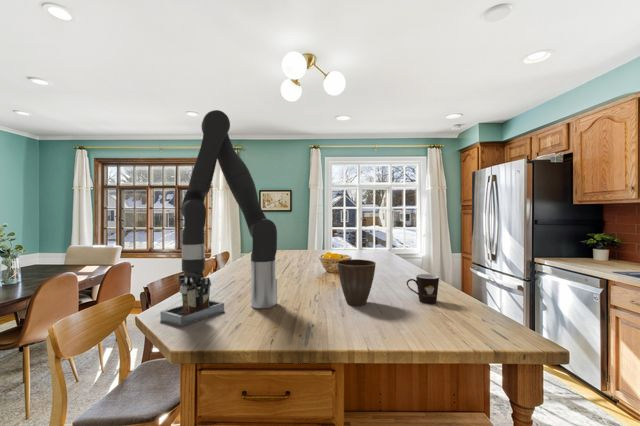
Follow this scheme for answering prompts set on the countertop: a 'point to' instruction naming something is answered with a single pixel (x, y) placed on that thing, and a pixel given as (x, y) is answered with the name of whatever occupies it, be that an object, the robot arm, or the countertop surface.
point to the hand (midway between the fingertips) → (193, 305)
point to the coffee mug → (426, 288)
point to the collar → (190, 314)
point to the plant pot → (356, 280)
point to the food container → (192, 298)
